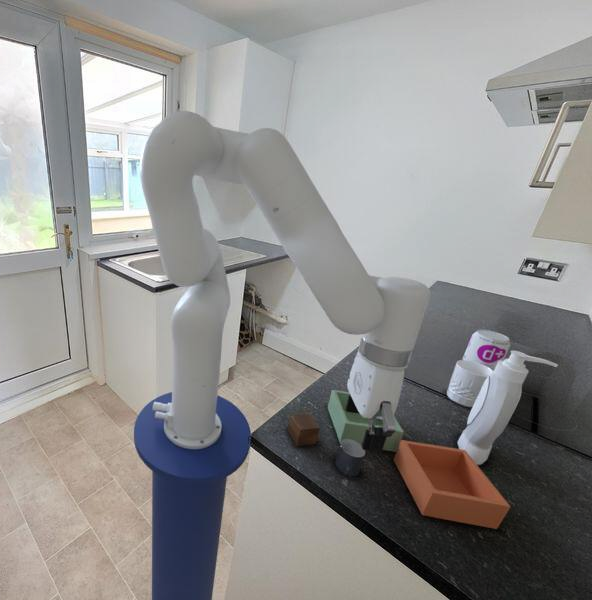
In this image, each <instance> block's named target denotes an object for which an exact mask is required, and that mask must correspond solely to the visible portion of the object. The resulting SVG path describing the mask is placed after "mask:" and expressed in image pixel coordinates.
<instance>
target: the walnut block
mask: <svg viewBox="0 0 592 600" xmlns="http://www.w3.org/2000/svg"><path fill="white" fill-rule="evenodd" d="M289 416H290V417H289V422H288V427H287V432H288V434H289V436H290V437H291V439H292V440H293V442H294V444H295V445H296V446H297V447H301V446H310V445H316V444H317V441H318V437H319V433H320V429H321V427H320V426H319V425H318V423H317V422H316V421H315V420H314V418H313V417H312V415H311V414H310V413H309V412H307V413H299V414H298V413H297V414H290V415H289Z"/></svg>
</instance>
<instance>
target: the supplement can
mask: <svg viewBox="0 0 592 600" xmlns="http://www.w3.org/2000/svg"><path fill="white" fill-rule="evenodd" d="M510 347H511V342H510V338H509V337H508V336H507V335H505V334H502V333H500V332H497V331H493V330H489V329H478V330H476V331H475V332H474V333H472V335H471V337H470V339H469V342H468V344H467V347H466V349H465V352H464V354H463V356H462V359H461V360H467V361H472V362H476V363H479V364H482V365H484V366H486V367H488V368H490V369H491V370H493V371H494V369H495V367H496V365H497V363H498V361H504V359H506V356H507V354H508V352H509V350H510Z"/></svg>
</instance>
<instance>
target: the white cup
mask: <svg viewBox="0 0 592 600" xmlns="http://www.w3.org/2000/svg"><path fill="white" fill-rule="evenodd" d="M452 371H453V372H452V374H451V376H450V380H449V384H448V387H447V390H446V396H447V397H448V398H449V399H450V400H451V401H453V402H454V403H456V404H458V405H461V406H463V407H467V408H472V407H473V405H474V403H475V401H476V399H477V397H478V395H479V393H480V391H481V388H482V386H483V384H484V382H485V380H486V378H487V377H489V376H491V374H492V373H493V370H491V369H490V368H488V367H486V366H484V365H482V364H479V363H476V362H472V361H467V360H462V359H459V360H457V361H456V363H455V365H454V368H453V370H452Z"/></svg>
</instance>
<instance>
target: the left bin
mask: <svg viewBox="0 0 592 600" xmlns="http://www.w3.org/2000/svg"><path fill="white" fill-rule="evenodd" d="M349 394H350V393H349V391H344V390H335V389H331V393H330V396H329V400H328V404H327V410H328V413H329V416H330V418H331V422H332V424H333V428H334V430H335V433H336V436H337V438H338V441H339V442H338V443H339V444H340V443H341V441H342V440H344V439H351V440H354V441H356V442H358V443H359V444H361V445H362V442H363V439H364V435H365V432H366V430H369V422H368V418H364V417H362V416H361V414H359V413H351V412H347V411H346V405H347V401H348V397H349ZM375 415H377V416H382V415H381V412H377V413H376V414H375ZM374 420H375V427H382V420H377V419H374ZM394 420H395V424H396V431H395V432H394V433H393V434H392V436H391V437H387V438H386V441H385V444H384V447H383V450H382V451H387V452H395V453H396V452H397V450H398V447H399V445H400V442H401V440H403V437H404V434H405V431H404V430H403V428H402V426H401V425H400V423H399V421H398V420H397V418H396V416H394Z"/></svg>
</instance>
